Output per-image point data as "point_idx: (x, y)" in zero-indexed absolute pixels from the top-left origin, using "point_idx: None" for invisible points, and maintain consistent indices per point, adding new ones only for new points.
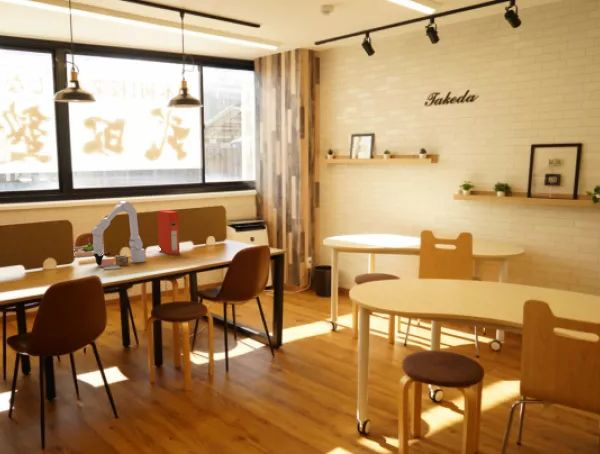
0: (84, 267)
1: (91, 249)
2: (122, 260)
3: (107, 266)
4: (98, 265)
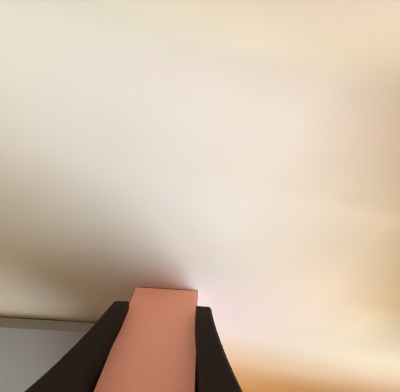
0: (205, 118)
1: None
2: None
3: None
4: (130, 304)
